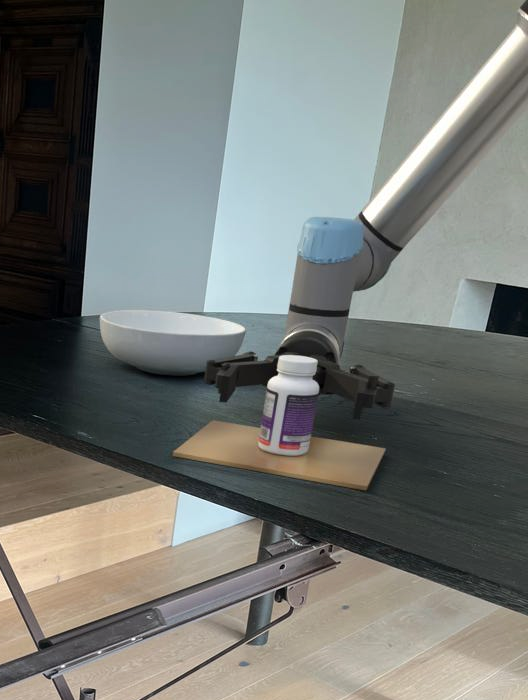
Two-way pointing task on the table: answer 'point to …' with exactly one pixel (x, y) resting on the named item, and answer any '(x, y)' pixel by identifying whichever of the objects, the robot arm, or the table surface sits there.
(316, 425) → the table surface
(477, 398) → the table surface
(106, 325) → the serving bowl
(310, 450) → the cork mat
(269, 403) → the pill bottle
